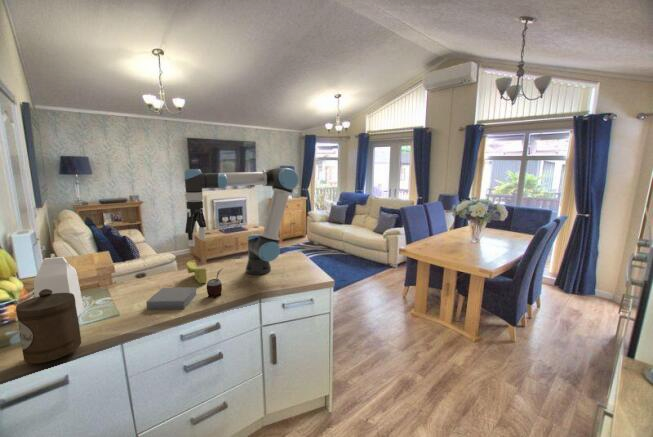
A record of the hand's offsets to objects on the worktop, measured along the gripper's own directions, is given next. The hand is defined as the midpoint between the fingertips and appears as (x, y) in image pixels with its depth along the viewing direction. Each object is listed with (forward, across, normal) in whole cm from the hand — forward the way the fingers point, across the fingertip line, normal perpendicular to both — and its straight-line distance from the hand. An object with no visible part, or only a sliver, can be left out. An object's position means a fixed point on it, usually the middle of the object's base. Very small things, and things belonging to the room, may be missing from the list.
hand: (197, 242), depth 153 cm
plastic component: (+26, -16, -9) cm, 32 cm away
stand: (+26, +13, -8) cm, 30 cm away
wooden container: (+26, +52, -30) cm, 65 cm away
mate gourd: (+26, +6, +10) cm, 28 cm away
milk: (+26, +28, -47) cm, 60 cm away
